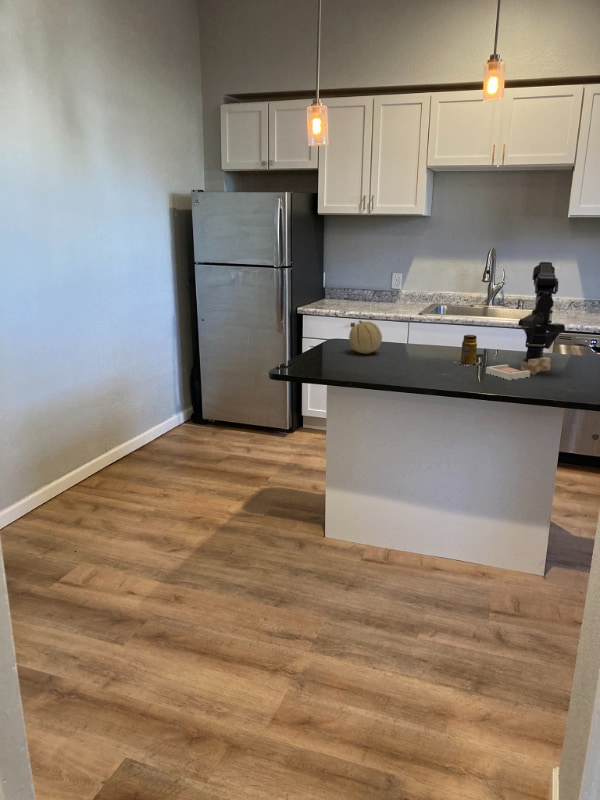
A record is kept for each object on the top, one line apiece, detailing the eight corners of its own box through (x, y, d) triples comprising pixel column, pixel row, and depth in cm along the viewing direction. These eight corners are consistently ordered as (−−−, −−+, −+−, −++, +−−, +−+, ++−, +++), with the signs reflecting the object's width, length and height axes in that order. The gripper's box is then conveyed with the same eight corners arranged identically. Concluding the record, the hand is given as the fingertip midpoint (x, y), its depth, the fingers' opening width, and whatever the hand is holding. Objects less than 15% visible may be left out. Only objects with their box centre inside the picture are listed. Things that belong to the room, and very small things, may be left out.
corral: (506, 370, 247) (506, 364, 246) (529, 377, 236) (530, 371, 236) (485, 373, 242) (486, 367, 242) (508, 380, 232) (509, 373, 231)
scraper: (540, 368, 252) (541, 356, 250) (554, 371, 246) (555, 359, 244) (520, 370, 247) (521, 358, 246) (533, 374, 241) (535, 362, 240)
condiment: (479, 364, 258) (482, 336, 255) (465, 366, 254) (468, 338, 250) (466, 360, 264) (468, 333, 261) (452, 363, 260) (454, 335, 256)
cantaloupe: (382, 357, 270) (384, 323, 266) (349, 356, 271) (350, 323, 266) (379, 350, 285) (380, 318, 280) (347, 350, 285) (348, 318, 281)
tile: (508, 373, 244) (509, 367, 243) (519, 376, 239) (520, 370, 238) (497, 375, 241) (497, 368, 240) (508, 378, 236) (509, 372, 235)
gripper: (510, 305, 243) (506, 344, 248) (547, 311, 227) (542, 352, 231) (530, 304, 248) (526, 342, 252) (568, 310, 232) (563, 350, 236)
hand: (538, 346), depth 243 cm, fingers open, 9 cm apart
